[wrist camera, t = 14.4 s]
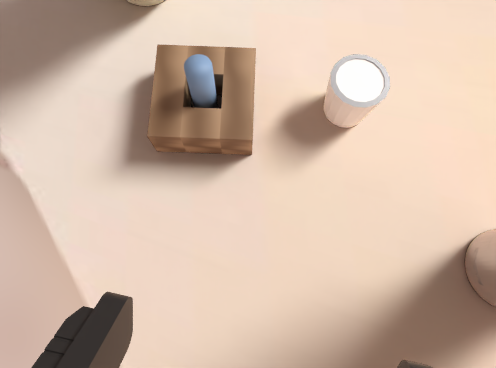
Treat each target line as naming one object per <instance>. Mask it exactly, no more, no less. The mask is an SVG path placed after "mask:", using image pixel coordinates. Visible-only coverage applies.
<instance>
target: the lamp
mask: <svg viewBox="0 0 496 368" xmlns="http://www.w3.org/2000/svg"><path fill="white" fill-rule="evenodd" d="M127 1H129V2H130V3H133V4H136V5H139V6H151V5H156V4H159V3H161V2H163V1H165V0H127Z"/></svg>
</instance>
